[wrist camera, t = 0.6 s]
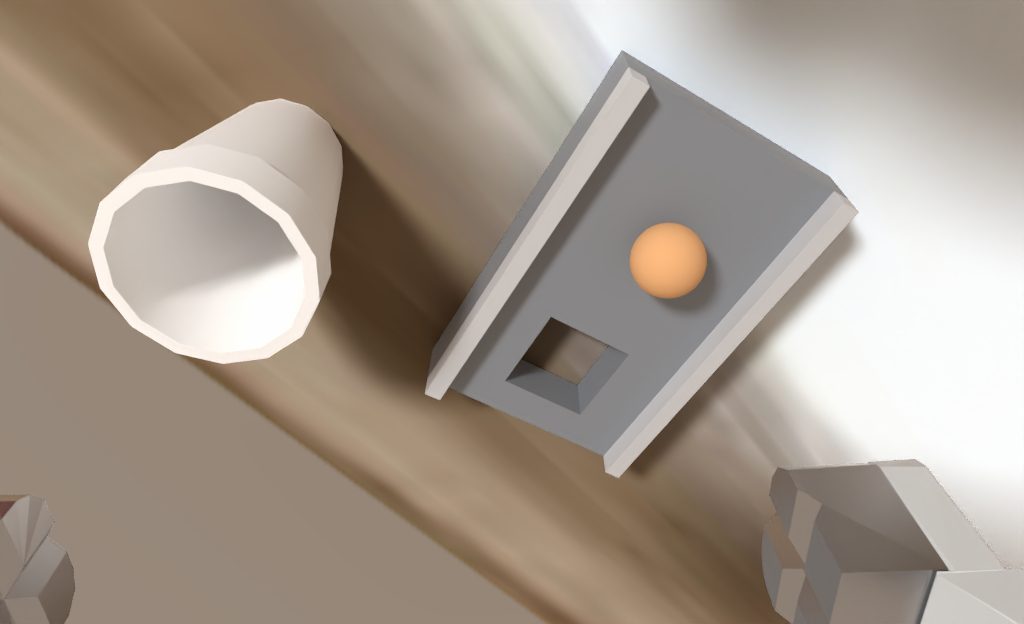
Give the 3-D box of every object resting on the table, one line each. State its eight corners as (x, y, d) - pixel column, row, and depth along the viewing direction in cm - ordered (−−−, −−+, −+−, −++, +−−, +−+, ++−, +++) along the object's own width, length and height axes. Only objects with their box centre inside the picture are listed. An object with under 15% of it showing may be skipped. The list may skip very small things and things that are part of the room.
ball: (653, 196, 41) (665, 231, 37) (714, 230, 42) (730, 267, 38) (611, 254, 43) (619, 292, 39) (670, 285, 44) (682, 324, 40)
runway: (621, 50, 40) (632, 76, 36) (829, 176, 43) (858, 212, 39) (432, 349, 50) (424, 393, 46) (611, 431, 54) (618, 478, 50)
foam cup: (345, 57, 40) (279, 151, 29) (389, 216, 45) (347, 347, 34) (173, 86, 41) (46, 188, 30) (235, 239, 46) (145, 373, 35)
